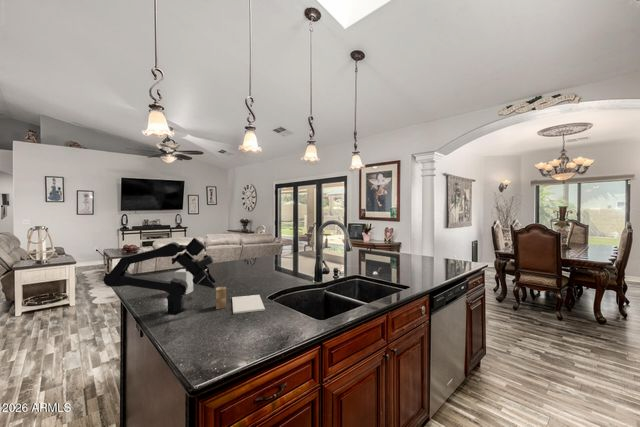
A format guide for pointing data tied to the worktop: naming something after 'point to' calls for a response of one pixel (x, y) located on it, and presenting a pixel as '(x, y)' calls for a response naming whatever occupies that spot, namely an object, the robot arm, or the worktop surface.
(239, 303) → the cutting board
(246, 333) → the worktop surface
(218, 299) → the oak block
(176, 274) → the supplement box
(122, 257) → the robot arm
